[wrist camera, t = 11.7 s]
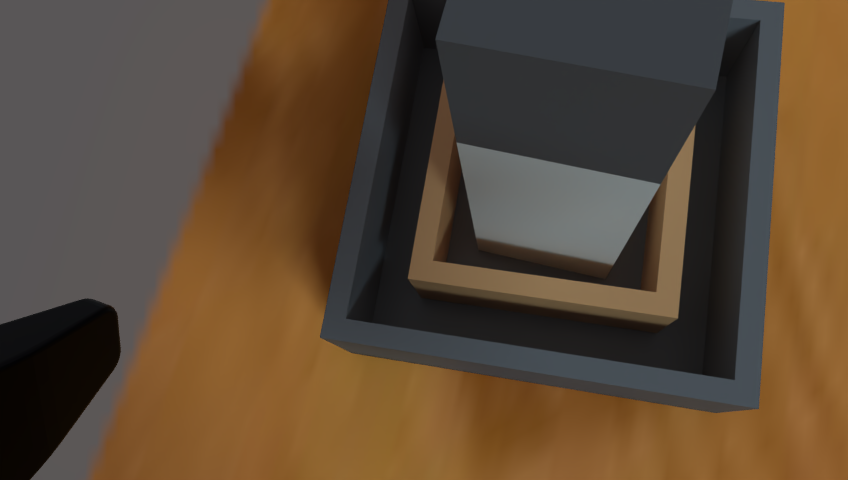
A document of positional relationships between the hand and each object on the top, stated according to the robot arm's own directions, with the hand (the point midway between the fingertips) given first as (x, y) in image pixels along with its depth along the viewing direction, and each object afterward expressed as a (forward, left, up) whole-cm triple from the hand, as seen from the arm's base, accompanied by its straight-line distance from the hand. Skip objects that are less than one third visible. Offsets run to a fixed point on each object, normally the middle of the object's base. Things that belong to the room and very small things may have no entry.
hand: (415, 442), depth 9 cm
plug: (+8, -1, -13) cm, 15 cm away
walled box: (+8, -1, -14) cm, 16 cm away
